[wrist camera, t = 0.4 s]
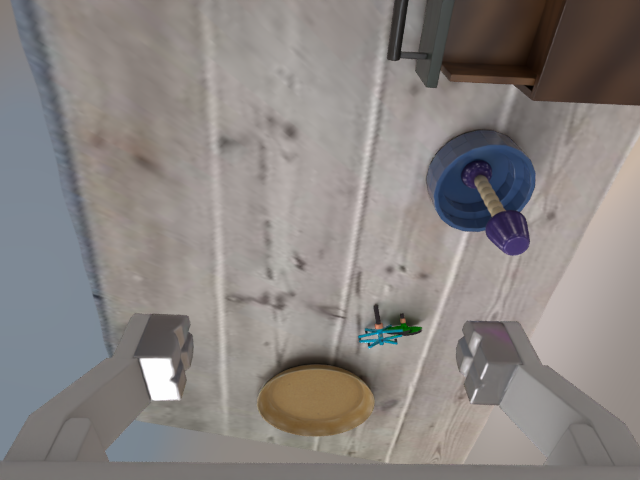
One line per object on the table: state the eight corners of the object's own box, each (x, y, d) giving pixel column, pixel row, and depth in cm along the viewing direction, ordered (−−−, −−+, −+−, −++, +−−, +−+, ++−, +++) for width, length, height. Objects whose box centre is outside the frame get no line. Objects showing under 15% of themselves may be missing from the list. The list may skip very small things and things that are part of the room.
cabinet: (505, 78, 54) (532, 100, 48) (541, -42, 47) (578, -35, 40) (619, 84, 55) (660, 106, 49) (672, -34, 48) (729, -26, 41)
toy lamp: (478, 193, 64) (522, 266, 50) (450, 183, 63) (488, 255, 49) (497, 165, 61) (549, 235, 48) (468, 154, 60) (513, 222, 47)
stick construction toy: (353, 344, 80) (368, 355, 73) (347, 307, 80) (361, 313, 72) (412, 330, 83) (432, 339, 76) (406, 294, 83) (426, 299, 75)
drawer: (379, 69, 53) (386, 85, 48) (394, -43, 46) (404, -38, 41) (524, 76, 53) (546, 93, 48) (559, -33, 47) (589, -27, 42)
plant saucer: (313, 435, 102) (313, 449, 100) (234, 391, 92) (232, 405, 89) (395, 392, 93) (398, 406, 90) (318, 338, 82) (318, 352, 80)
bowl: (436, 127, 58) (446, 142, 54) (534, 131, 59) (550, 147, 55) (418, 211, 66) (425, 230, 62) (504, 214, 66) (516, 233, 62)
